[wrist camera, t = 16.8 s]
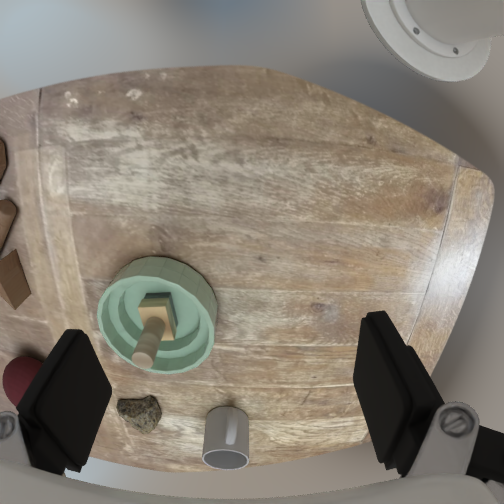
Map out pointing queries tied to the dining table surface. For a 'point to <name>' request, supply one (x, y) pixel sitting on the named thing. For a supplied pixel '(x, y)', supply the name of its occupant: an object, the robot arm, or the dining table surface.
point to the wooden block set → (9, 268)
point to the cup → (226, 439)
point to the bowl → (185, 303)
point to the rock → (140, 413)
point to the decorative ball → (19, 377)
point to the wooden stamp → (154, 327)
